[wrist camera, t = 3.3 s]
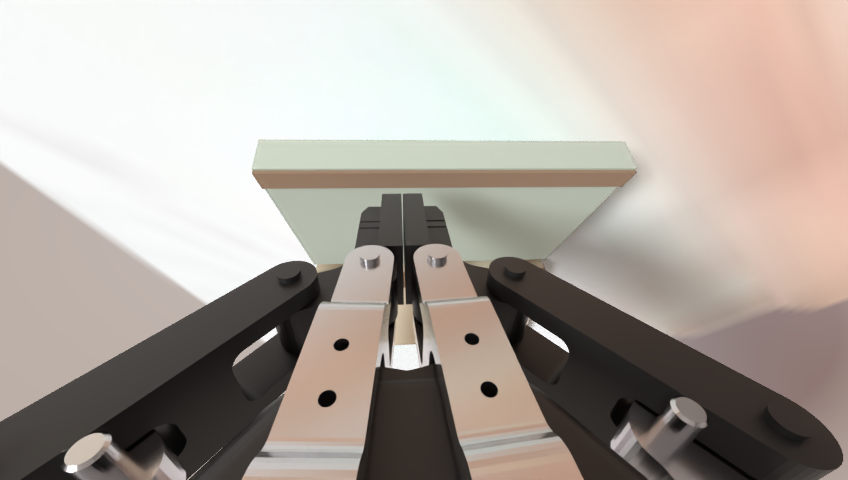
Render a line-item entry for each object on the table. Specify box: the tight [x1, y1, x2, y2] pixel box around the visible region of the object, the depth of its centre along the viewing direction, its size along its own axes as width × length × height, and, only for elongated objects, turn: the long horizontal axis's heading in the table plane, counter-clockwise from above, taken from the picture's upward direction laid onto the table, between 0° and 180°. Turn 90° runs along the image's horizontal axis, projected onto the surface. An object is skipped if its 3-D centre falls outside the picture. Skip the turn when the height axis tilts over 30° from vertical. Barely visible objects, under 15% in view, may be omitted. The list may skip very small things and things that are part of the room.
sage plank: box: [252, 140, 637, 264], centre depth 18 cm, size 16×10×2 cm, turn 89°
